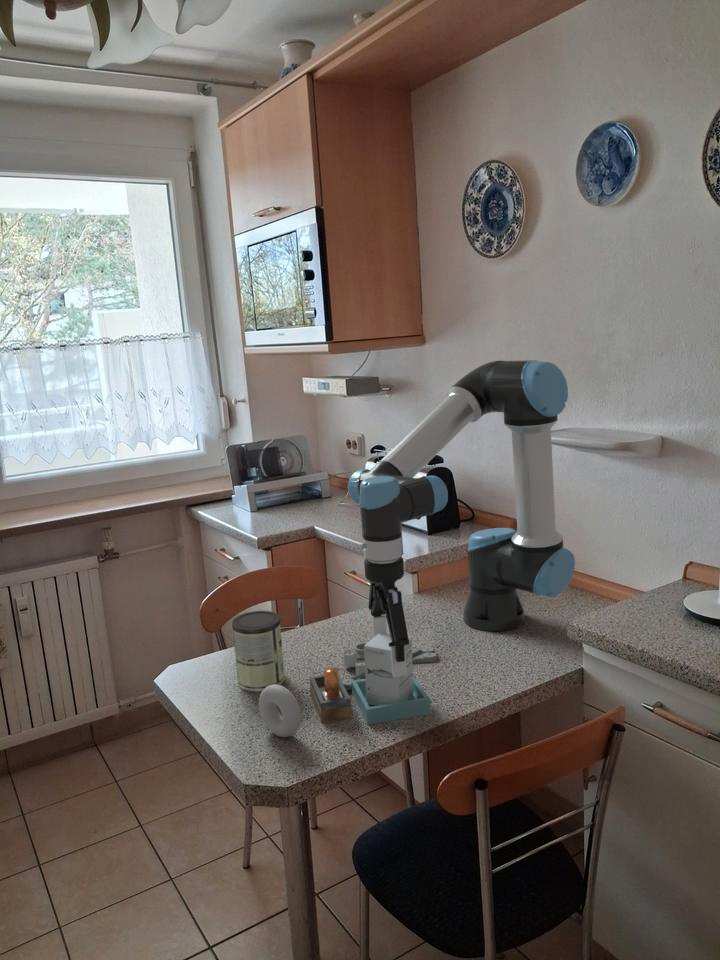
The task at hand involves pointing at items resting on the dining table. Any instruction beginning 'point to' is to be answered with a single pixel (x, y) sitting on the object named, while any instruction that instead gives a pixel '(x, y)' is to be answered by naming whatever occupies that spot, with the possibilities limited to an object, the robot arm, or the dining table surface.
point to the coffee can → (258, 650)
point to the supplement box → (386, 673)
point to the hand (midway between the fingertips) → (389, 660)
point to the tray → (393, 711)
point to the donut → (287, 705)
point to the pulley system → (358, 661)
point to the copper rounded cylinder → (331, 684)
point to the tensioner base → (329, 701)
